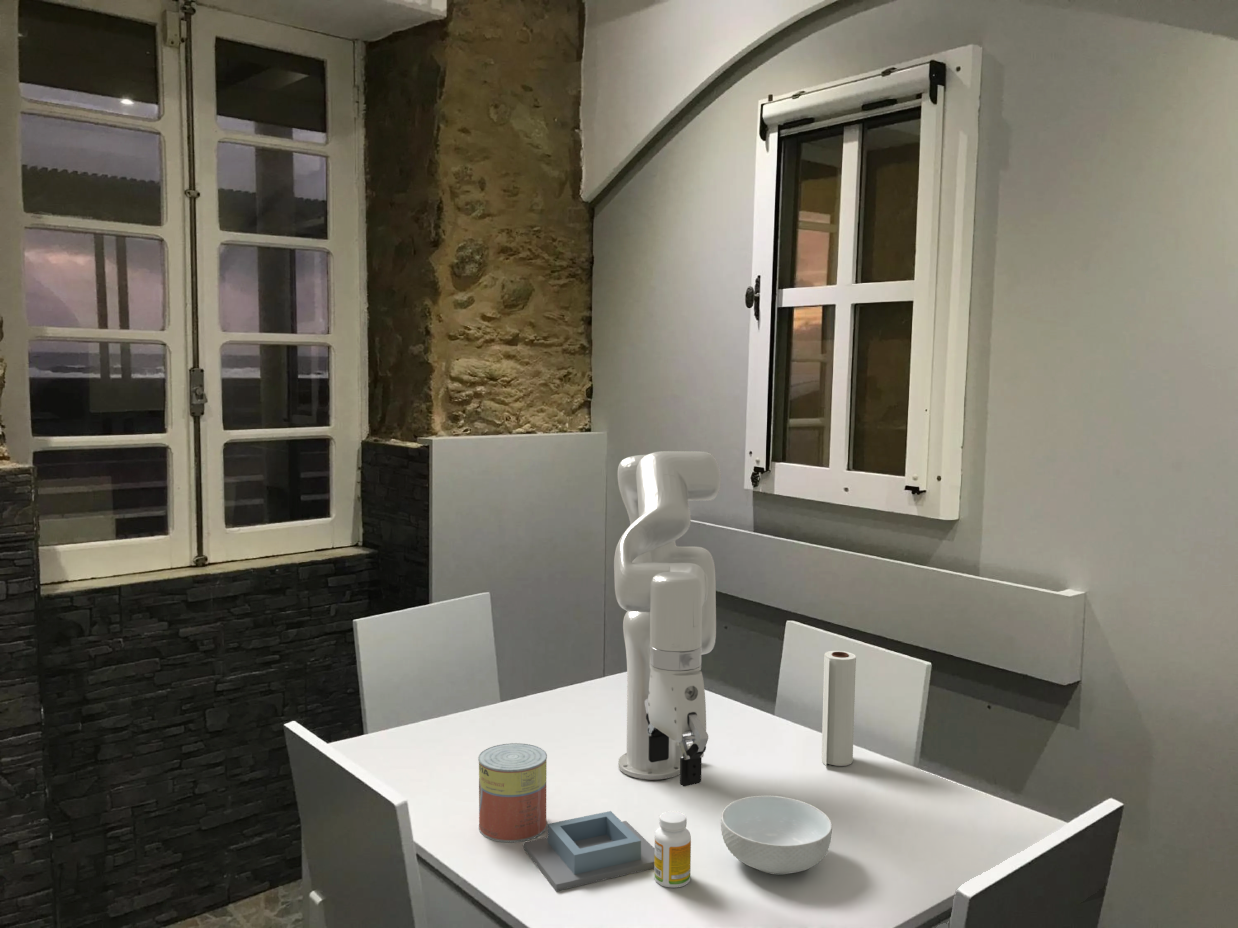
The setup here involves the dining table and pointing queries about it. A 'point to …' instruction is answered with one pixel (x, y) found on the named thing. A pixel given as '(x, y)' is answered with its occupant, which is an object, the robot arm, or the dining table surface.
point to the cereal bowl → (776, 833)
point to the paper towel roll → (838, 708)
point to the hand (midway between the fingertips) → (674, 771)
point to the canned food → (512, 792)
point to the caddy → (589, 850)
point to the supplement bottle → (672, 850)
